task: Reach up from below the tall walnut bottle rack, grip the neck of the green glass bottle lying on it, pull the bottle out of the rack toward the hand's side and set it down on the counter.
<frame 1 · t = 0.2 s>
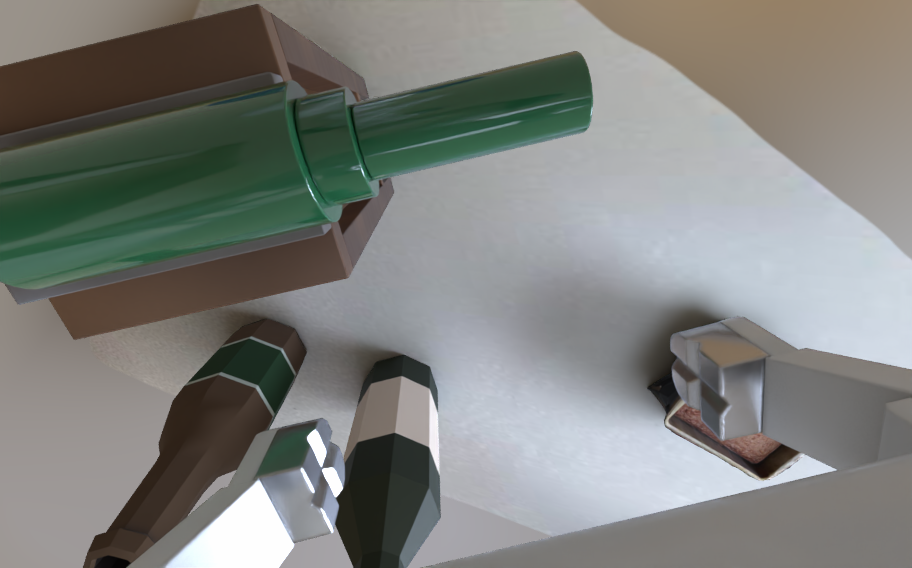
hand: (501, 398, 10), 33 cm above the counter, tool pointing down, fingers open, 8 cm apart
bottle rack: (315, 153, 38), on the counter
wine bottle: (400, 386, 48), on the counter
beer bottle 2: (271, 348, 45), on the counter
green bottle: (167, 189, 14), point 26 cm above the counter, touching bottle rack
baking dish: (715, 376, 50), on the counter
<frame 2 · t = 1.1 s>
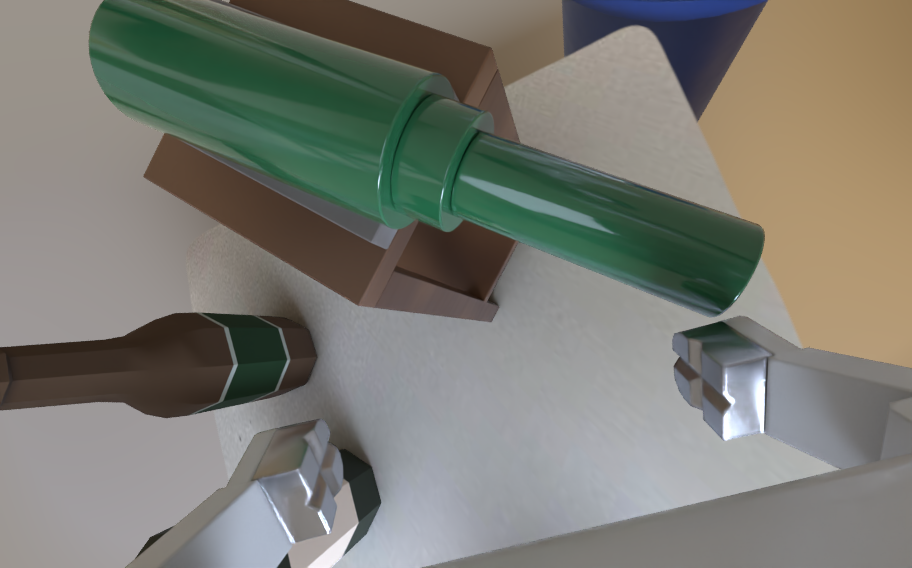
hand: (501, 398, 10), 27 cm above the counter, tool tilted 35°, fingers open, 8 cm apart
bottle rack: (460, 244, 39), on the counter
wine bottle: (341, 494, 40), on the counter
beer bottle 2: (287, 355, 43), on the counter
green bottle: (280, 104, 13), point 27 cm above the counter, tilted 6°, touching bottle rack, gripper
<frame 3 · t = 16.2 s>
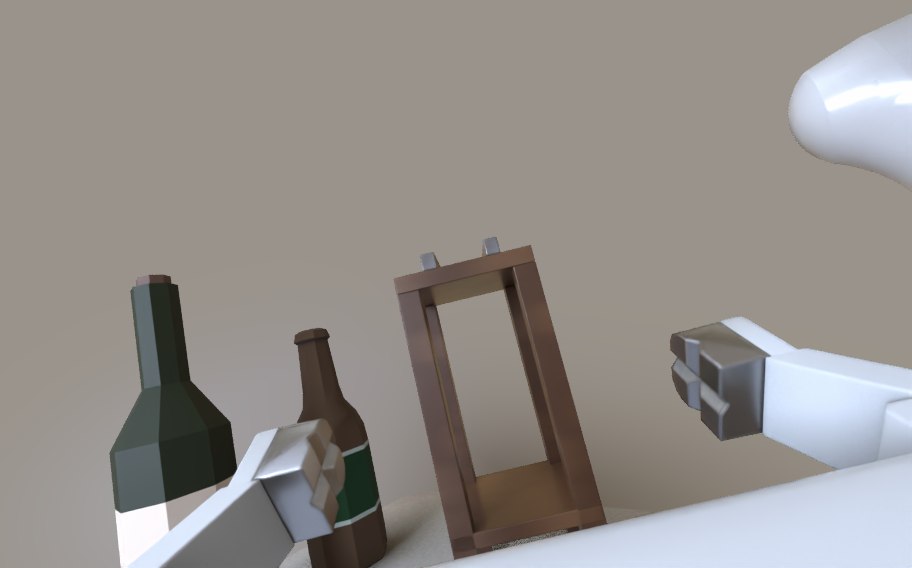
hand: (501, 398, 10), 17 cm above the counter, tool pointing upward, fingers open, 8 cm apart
beer bottle 2: (352, 562, 43), on the counter
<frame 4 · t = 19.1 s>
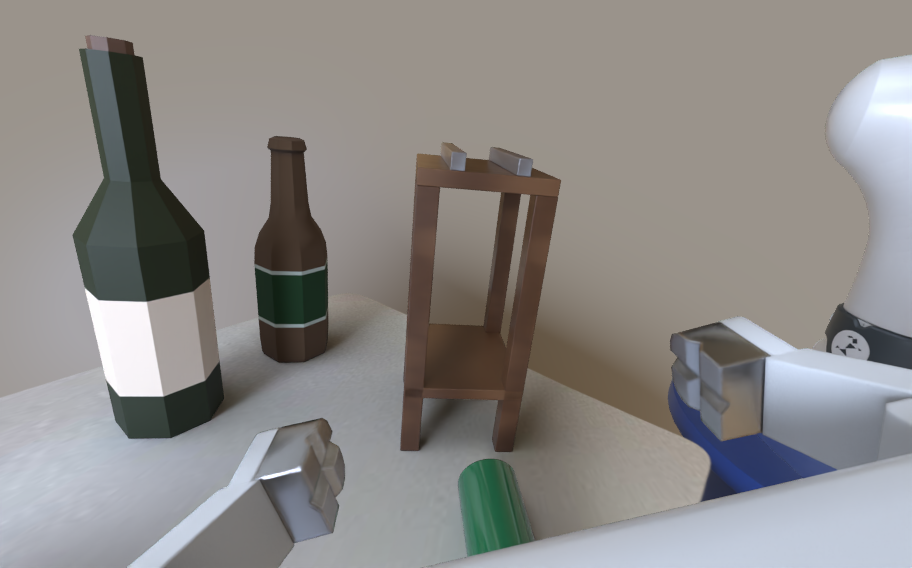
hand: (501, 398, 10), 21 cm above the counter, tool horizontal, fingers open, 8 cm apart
bottle rack: (451, 408, 43), on the counter
wine bottle: (172, 410, 39), on the counter
beer bottle 2: (296, 348, 51), on the counter
green bottle: (500, 543, 27), point 2 cm above the counter, tilted 36°
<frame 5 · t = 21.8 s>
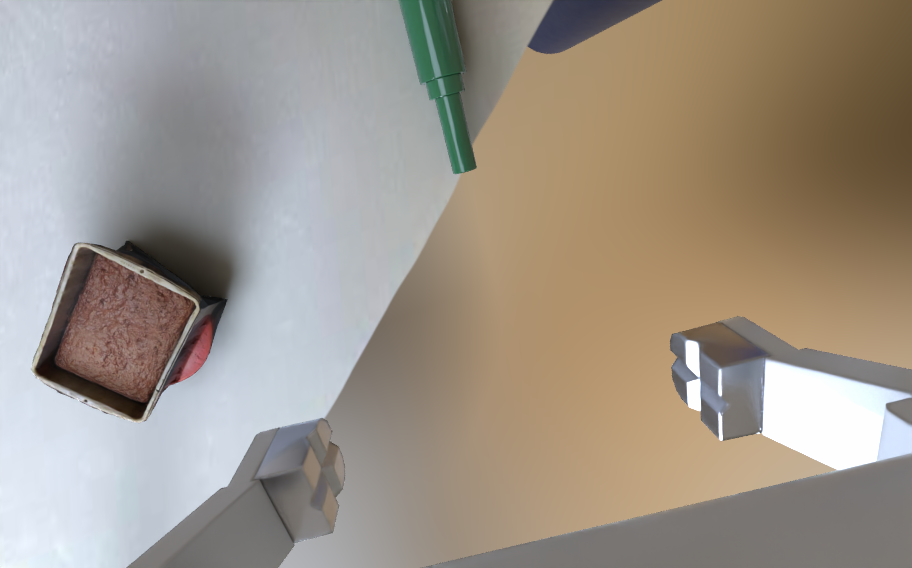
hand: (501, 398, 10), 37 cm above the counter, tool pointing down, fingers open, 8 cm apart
green bottle: (428, 17, 37), point 2 cm above the counter, tilted 56°
baking dish: (160, 311, 47), on the counter
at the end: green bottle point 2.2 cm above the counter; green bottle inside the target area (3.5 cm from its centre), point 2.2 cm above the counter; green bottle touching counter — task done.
